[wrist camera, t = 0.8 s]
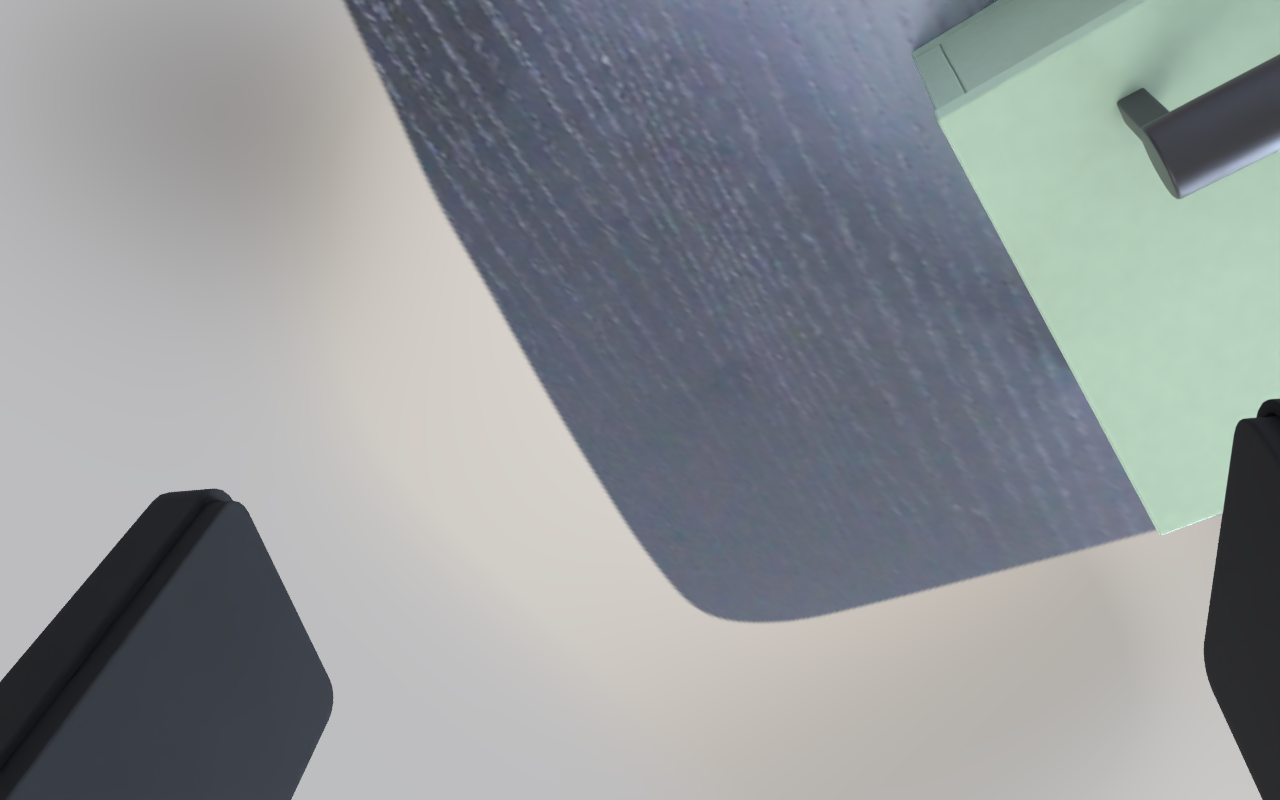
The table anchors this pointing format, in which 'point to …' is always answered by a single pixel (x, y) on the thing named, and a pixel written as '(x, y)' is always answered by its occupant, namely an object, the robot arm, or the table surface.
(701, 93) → the table surface
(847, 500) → the table surface
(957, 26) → the green hinged box
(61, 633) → the robot arm
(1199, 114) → the lid
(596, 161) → the table surface
